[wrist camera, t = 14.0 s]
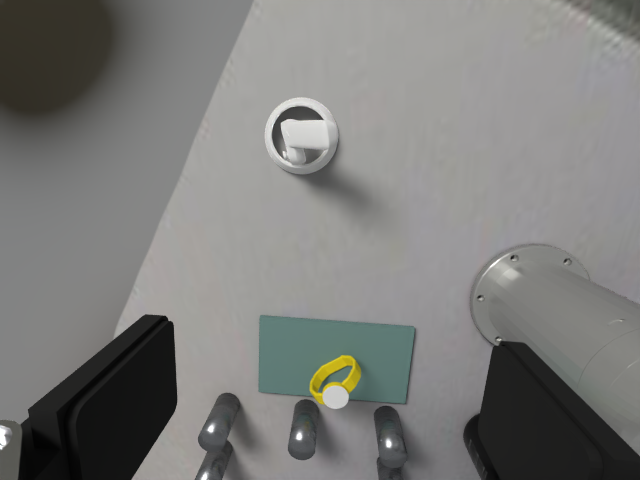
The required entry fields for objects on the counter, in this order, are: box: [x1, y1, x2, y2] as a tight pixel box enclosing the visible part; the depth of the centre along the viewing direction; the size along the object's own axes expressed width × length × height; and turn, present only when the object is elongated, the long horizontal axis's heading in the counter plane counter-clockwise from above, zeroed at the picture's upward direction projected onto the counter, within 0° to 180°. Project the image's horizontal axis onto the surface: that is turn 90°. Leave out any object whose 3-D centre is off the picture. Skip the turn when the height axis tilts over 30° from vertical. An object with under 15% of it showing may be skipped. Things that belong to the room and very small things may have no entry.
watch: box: [310, 355, 361, 409], centre depth 38 cm, size 6×3×6 cm, turn 122°
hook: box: [265, 98, 339, 174], centre depth 33 cm, size 8×12×7 cm
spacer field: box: [195, 393, 408, 480], centre depth 42 cm, size 25×17×6 cm
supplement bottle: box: [463, 413, 501, 480], centre depth 37 cm, size 7×7×12 cm
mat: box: [259, 315, 415, 404], centre depth 41 cm, size 18×10×1 cm, turn 87°
